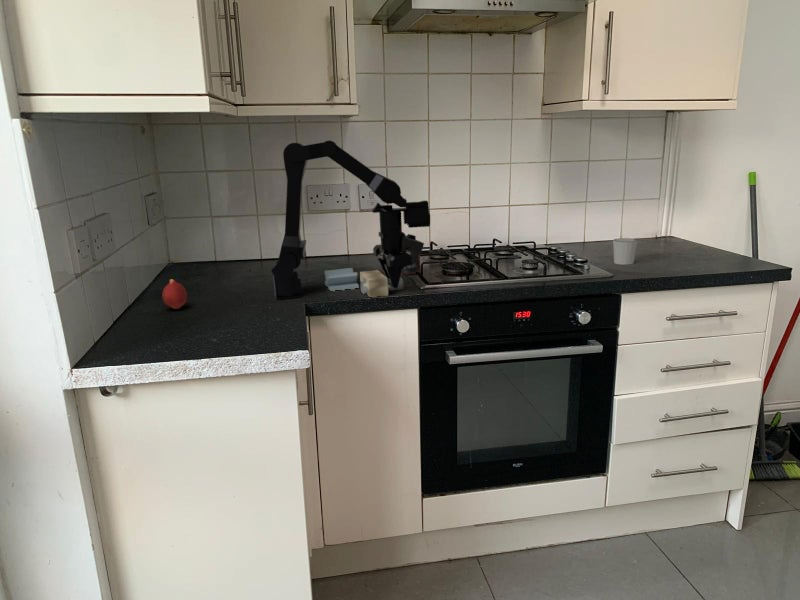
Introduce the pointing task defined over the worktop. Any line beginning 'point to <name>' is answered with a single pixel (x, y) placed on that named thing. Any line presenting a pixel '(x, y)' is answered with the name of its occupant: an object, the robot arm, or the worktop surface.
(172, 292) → the onion
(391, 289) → the axle
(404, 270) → the supplement bottle
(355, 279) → the v block
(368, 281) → the beam
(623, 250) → the grey cup
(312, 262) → the worktop surface
